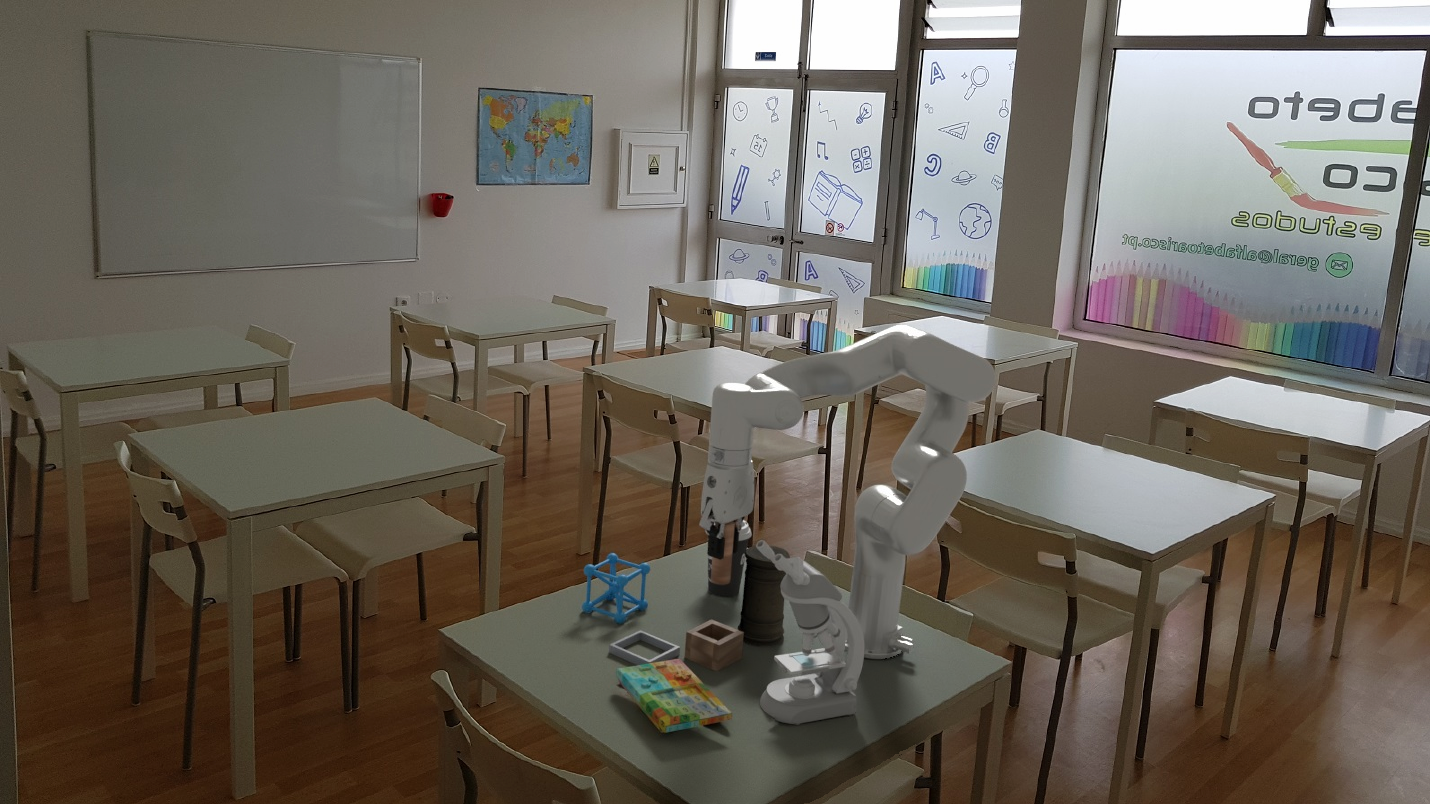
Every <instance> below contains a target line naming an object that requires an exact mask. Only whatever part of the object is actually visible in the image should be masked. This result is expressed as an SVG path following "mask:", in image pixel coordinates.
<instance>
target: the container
mask: <svg viewBox="0 0 1430 804" xmlns="http://www.w3.org/2000/svg"><path fill="white" fill-rule="evenodd" d="M768 545H769V544H768ZM769 546H770V548H771V549H772V551H773V552H774V553H775V555H777V554H782V555H783V556H784V557H785V558H786V559H788V558H791V555H790V553H789V551H787V549H784V548H782V547H779V546H775V545H769ZM745 563H746V566H745V571H744V582H743V595H742V603H741V604H742V605H741V611H740V622H739V624H738V626H737V630H739V631H742V632H744V636H743V644H746V645H748V646H753V647H758V648H759V647H760V648H767V647H768V648H770V647H775V646H778V645H780V644H782V643H783V642H784V639H785V635H784V634H785V629H784V626H783V625H784V619H785V615H784V611H785V610H784V609H785V598H784V597H783V596H782V593H781V588H780V585H781V582H782V580H783V578H784V577H785V575H786V574H787V573H785V572H784V571H783V570H778V569H777V568H776V567H775V564H774V563H773V562H772V561H771V560H770V559H768V558H767V557H765V556H764V555H763V554H762V553H761V552H760V551H759V550H758V549H757V548H756V545H753V546H750V547H747V550H746V552H745Z"/></svg>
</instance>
